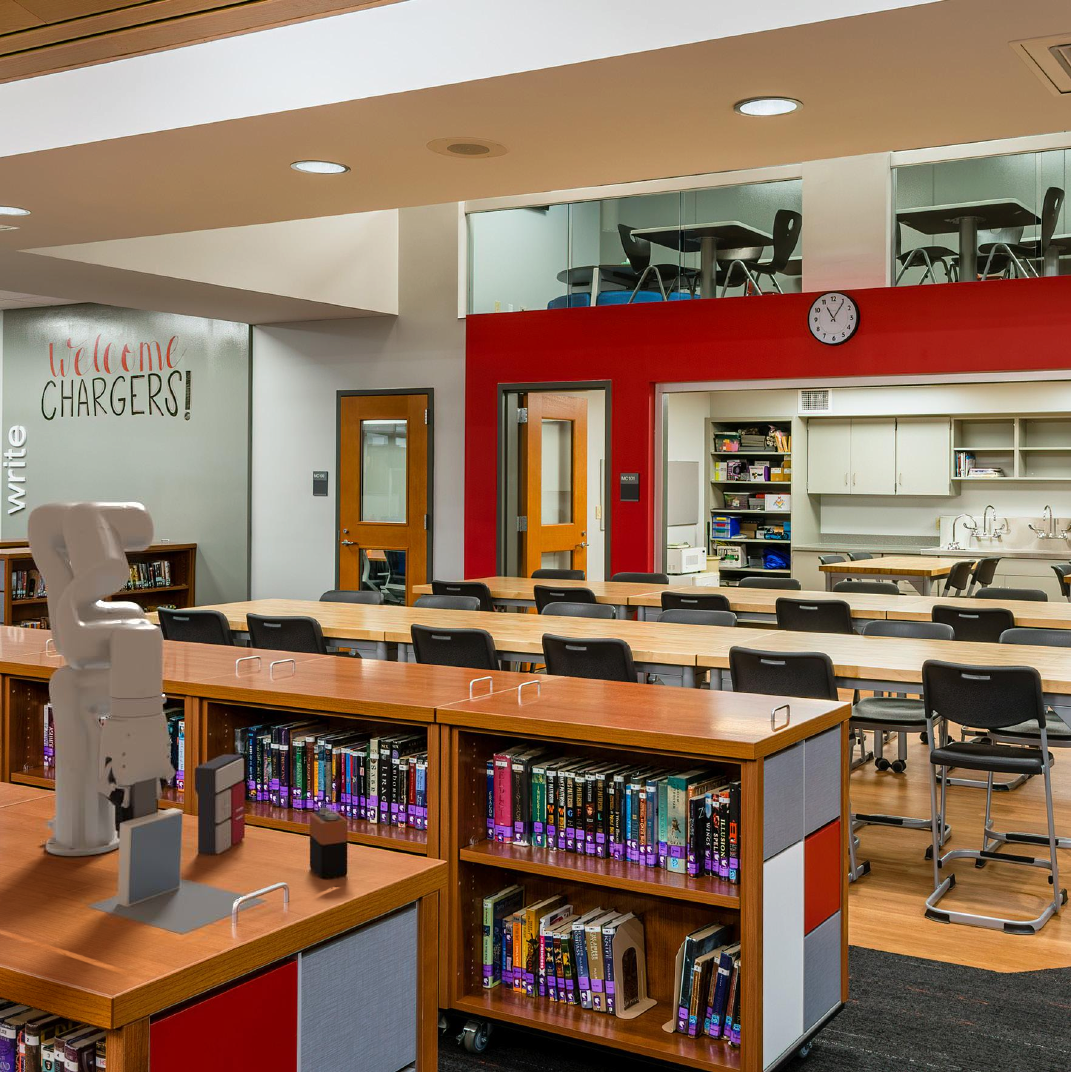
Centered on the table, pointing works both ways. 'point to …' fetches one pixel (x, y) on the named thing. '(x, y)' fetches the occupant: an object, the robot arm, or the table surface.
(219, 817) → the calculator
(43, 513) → the robot arm
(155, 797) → the block
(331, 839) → the battery
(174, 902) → the mat
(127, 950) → the table surface
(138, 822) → the tile
